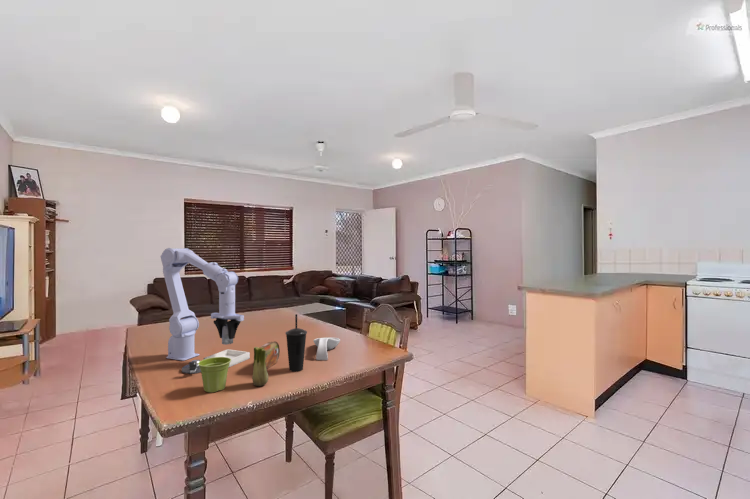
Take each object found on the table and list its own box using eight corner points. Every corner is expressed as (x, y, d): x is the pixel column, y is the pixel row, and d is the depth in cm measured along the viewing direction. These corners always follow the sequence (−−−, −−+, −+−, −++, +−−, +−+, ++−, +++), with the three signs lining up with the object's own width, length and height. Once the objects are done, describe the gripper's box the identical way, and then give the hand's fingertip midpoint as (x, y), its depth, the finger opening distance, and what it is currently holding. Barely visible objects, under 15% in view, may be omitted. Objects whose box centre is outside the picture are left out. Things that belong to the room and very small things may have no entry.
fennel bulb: (251, 382, 115) (251, 346, 115) (267, 380, 117) (267, 344, 117) (253, 389, 110) (253, 350, 110) (269, 386, 112) (269, 349, 112)
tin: (260, 374, 123) (260, 350, 123) (252, 373, 123) (252, 349, 123) (280, 360, 138) (280, 339, 138) (273, 359, 138) (273, 338, 138)
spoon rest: (315, 344, 161) (315, 329, 161) (340, 344, 161) (340, 328, 161) (307, 361, 137) (307, 343, 137) (337, 360, 138) (337, 342, 138)
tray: (203, 364, 132) (203, 358, 132) (227, 355, 144) (227, 349, 144) (226, 368, 128) (226, 361, 128) (249, 358, 140) (249, 352, 140)
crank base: (175, 371, 124) (175, 368, 124) (196, 364, 133) (196, 361, 133) (194, 375, 121) (194, 372, 121) (215, 366, 130) (215, 363, 130)
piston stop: (219, 343, 135) (219, 325, 135) (228, 341, 139) (228, 323, 139) (226, 345, 133) (226, 326, 133) (235, 342, 137) (235, 324, 137)
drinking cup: (310, 367, 130) (310, 313, 129) (299, 374, 122) (299, 317, 122) (292, 365, 132) (292, 312, 132) (281, 371, 125) (281, 315, 125)
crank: (192, 364, 128) (192, 355, 128) (200, 364, 129) (200, 354, 129) (187, 373, 119) (187, 363, 119) (196, 372, 120) (196, 362, 120)
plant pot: (205, 383, 114) (205, 356, 114) (235, 382, 115) (235, 356, 115) (192, 395, 105) (192, 366, 105) (225, 394, 105) (225, 365, 105)
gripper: (204, 303, 135) (204, 338, 135) (234, 305, 130) (234, 342, 130) (218, 300, 141) (218, 334, 141) (247, 303, 136) (247, 337, 136)
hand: (227, 338), depth 136 cm, fingers closed on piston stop, 4 cm apart
